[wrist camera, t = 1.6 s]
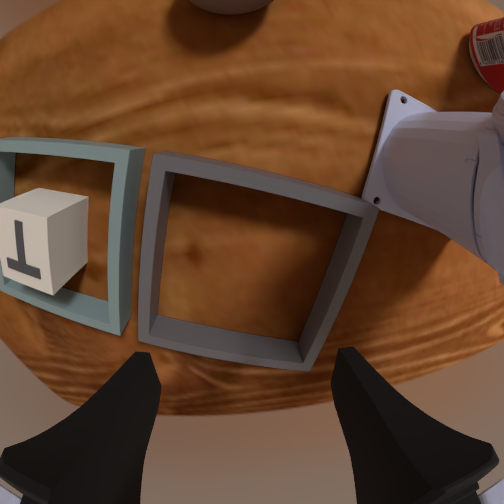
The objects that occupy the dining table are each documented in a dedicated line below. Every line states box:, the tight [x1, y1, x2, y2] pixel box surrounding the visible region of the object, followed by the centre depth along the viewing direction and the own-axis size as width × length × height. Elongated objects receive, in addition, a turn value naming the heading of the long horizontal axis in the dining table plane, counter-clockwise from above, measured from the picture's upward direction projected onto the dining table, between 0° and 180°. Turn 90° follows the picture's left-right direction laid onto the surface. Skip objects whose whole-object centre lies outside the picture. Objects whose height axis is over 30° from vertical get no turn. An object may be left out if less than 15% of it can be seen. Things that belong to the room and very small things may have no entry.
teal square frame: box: [0, 137, 145, 336], centre depth 16 cm, size 13×13×2 cm
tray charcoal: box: [138, 151, 380, 372], centre depth 18 cm, size 13×13×2 cm
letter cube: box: [0, 188, 89, 295], centre depth 15 cm, size 5×5×5 cm
